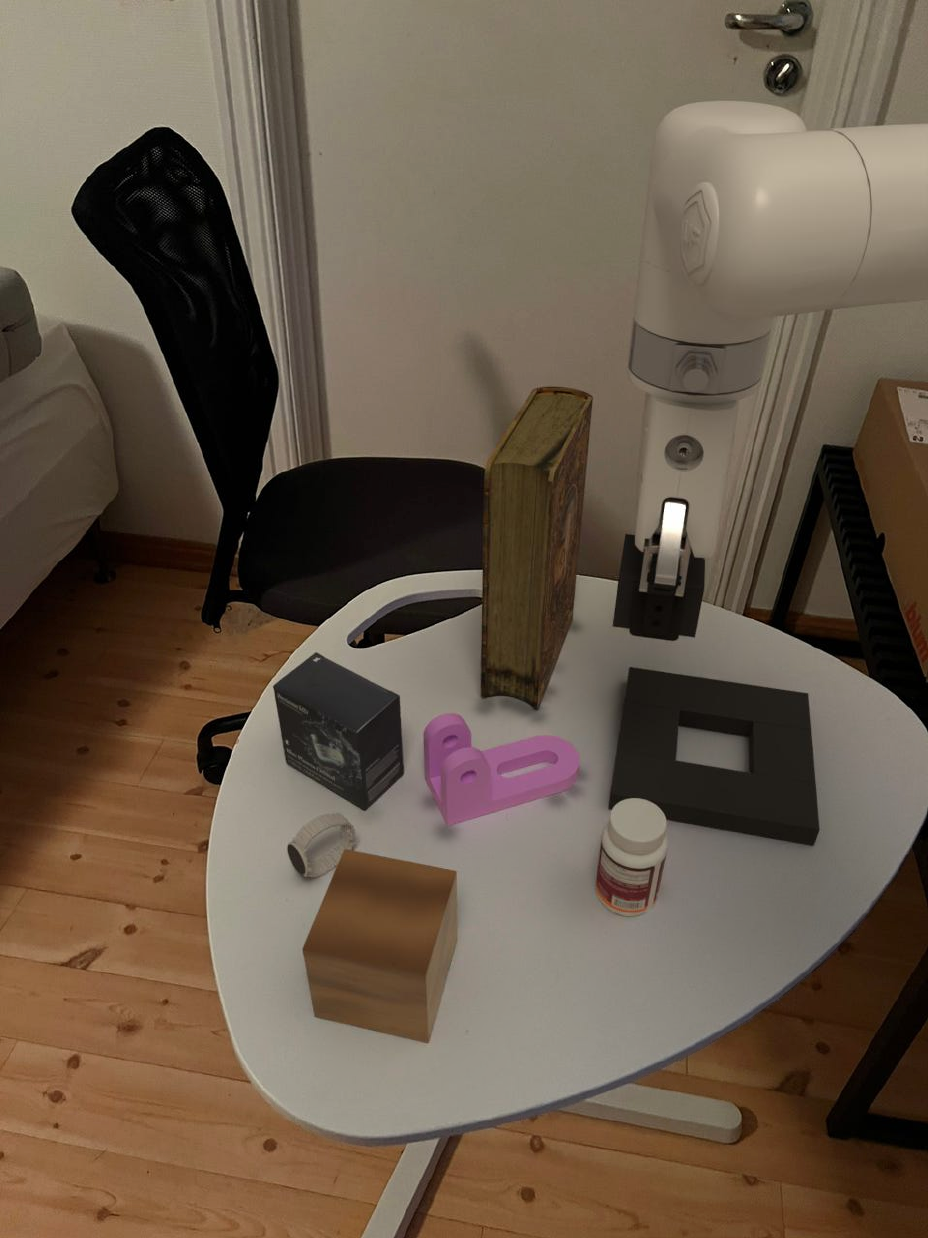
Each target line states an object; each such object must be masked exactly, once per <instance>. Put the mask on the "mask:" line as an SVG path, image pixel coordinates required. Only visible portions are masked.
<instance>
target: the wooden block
mask: <svg viewBox="0 0 928 1238" xmlns="http://www.w3.org/2000/svg"><path fill="white" fill-rule="evenodd" d="M457 873H458V871H457V870H453V869H449V868H444V867H438V866H434V865H429V864H423V863H418V862H414V861H407V860H404V859H397V858H393V857H387V856H383V855H382V856H381V855H378V854H373V853H367V852H362V851H356V850H353V849H352V850H347V849H344V851H343V853H342V856H341V858H340V861H339V863H338V865H337V866H336V867H335V870H334V873H333V875H332V877H331V880H330V882H329V884H328V887H327V890H326V891H325V894H324V896H323V899H322V901H321V904H320V906H319V909H318V911H317V913H316V915H315V918H314V920H313V922H312V925H311V927H310V930H309V932H308V935H307V937H306V939H305V941H304V944H303V946H302V955H303V960H304V965H305V966H304V967H305V970H306V971H305V972H306V977H307V983H308V987H309V993H310V999H311V1004H312V1010H313V1015H314V1018H317V1019H321V1020H326V1021H331V1022H334V1023H338V1024H339V1023H340V1024H342V1025H343V1024H344V1025H347V1026H352V1027H357V1028H361V1029H366V1030H368V1031H369V1030H370V1031H374V1032H379V1033H383V1034H387V1035H391V1036H395V1037H399V1038H404V1039H407V1040H408V1039H409V1040H412V1041H416V1042H421V1043H425V1044H429V1043H430V1041H431V1037H432V1033H433V1031H434V1026H435V1022H436V1019H437V1016H438V1015H437V1014H438V1012H439V1007H440V1005H441V1001H442V998H443V997H442V996H443V993H444V990H445V985H446V982H447V979H448V975H449V972H450V968H451V964H452V960H453V957H454V953H455V949H456V945H457V943H458V876H457V875H458V874H457Z"/></svg>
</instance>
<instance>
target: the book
mask: <svg viewBox="0 0 928 1238" xmlns="http://www.w3.org/2000/svg"><path fill="white" fill-rule="evenodd" d="M593 400H594V397H593V395H591V394H590V393H589V392H587V391H583V390H582V389H581V390H580V389H576V388H572V387H565V386H541V387H540V386H539V387H536V388H533V389H532V390H531V392H530V393H529V395H528V397H527V398H526V400H525V401H524V403H523V404H522V406H521V407H520V409H519V411H518V412H517V413H516V415H515V417H514V419H513V420H512V422H511V423H510V424H509V427H508V428H507V430H505V432H504V434H503V436H502V438H500V440H499V442H498V443H497V445H496V447H495V448H494V450H493V452H492V453H491V454H490V456H489V458H488V460H487V461H486V464H485V469H484V478H483V479H484V481H483V483H484V484H483V520H482V521H483V522H482V523H483V525H482V526H483V527H482V529H483V531H482V579H481V580H482V581H481V582H482V584H481V585H482V586H481V587H482V588H481V589H482V590H481V591H482V593H481V640H480V643H481V645H480V648H481V649H480V697H482V698H488V697H491V696H510V697H514V698H517V699H520V700H522V701H523V702H526V703H527V704H529V705H531V706H533V709H537V710H539V709H540V706H541V704H542V702H543V699H544V696H545V694H546V692H547V689H548V686H549V683H550V682H551V678H552V676H553V673H554V670H555V669H556V665H557V663H558V659H559V657H560V654H561V652H562V649H563V648H564V647H563V646H564V644H565V641H566V638H567V636H568V633H569V631H570V628H571V625H572V622H573V620H574V609H575V597H576V587H577V576H578V565H579V554H580V543H581V534H582V533H581V531H582V523H583V509H584V501H585V499H584V498H585V490H586V489H585V488H586V476H587V465H588V455H589V446H590V445H589V444H590V435H591V433H590V432H591V425H592V424H591V423H592V422H591V421H592V411H593Z"/></svg>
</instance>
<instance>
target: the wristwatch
mask: <svg viewBox="0 0 928 1238" xmlns="http://www.w3.org/2000/svg"><path fill="white" fill-rule="evenodd" d="M334 827H335V828H336V827H339V829H340V831H341V833H342V835H341V837H340V839H339V840H338V842H337V843H336V844H335V845H334V847H332V849H331V850H329V852H327V853H326V854H325V855H323V857H321V858H319V860H317V861H314V862H312V863H309V860H308V857H307V852H308V849H307V848H308V847H309V845H310V844H311V842H312V840H314V839H315V838H316V837H318V836H319V835H320V834H322V833H323V832H325V831H326V830H329V829H331V828H334ZM355 838H356V832H355V828H354V825H353V824H352V823H351V822H350V821H349V820H348V818H346V816H345V815H344V814H342V812H331V813H324V814H321V815H319V816H316V817H315V818H313V819H311V820H309V821H308V822H307V823H305V824H303V826H302V827H301V828H300V829H299V830H298V831H297V833H296V835H295V837H292V839H291V841H290V842H288V844H287V846H286V847H287V849H286V850H287V851H286V852H287V855H288V858H289V861H290V863H291V864H292V866H293V868H294V869H295V870H296V872H297V874H299V875H301V876H303V877H305V878H317V877H318V878H319V877H322V876H325V875H326V874H328V873H330V872H331V871H332V870H334V869H336V867H337V865H338V863H339V861H340V858H341V856H342V853H343V851H344V849H347V850H352V851H353V847H354V845H355Z"/></svg>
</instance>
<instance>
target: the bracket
mask: <svg viewBox="0 0 928 1238" xmlns="http://www.w3.org/2000/svg"><path fill="white" fill-rule="evenodd" d="M422 735H423V739H422V740H423V765H424V779H425V782H426V784H427V786H428V789H429V790H430V793H431V794H432V797H433V799H434V801H435V803H436V805H437V807H438V809H439V812H440V814H441V816H442V818H443V820H444V822H445V825H446V826H447V827H449V826H452V825H456V824H459V823H463V822H466V821H469V820H472V819H476V818H479V817H482V816H486V815H489V814H492V813H496V812H498V811H502V810H505V809H509V808H512V807H516V806H519V805H522V804H526V803H529V802H532V801H535V800H538V799H539V800H540V799H542V798H545V797H548V796H552V795H555V794H559V793H562V792H565V791H566V790H568V789H570V788H571V787H572V786H573V785H574V784H575V783H576V782H577V780H578V778H579V775H580V773H579V771H580V765H581V758H580V753H579V751H578V749H577V748H576V747H575V746H574V745H573V744H572V743H571V742H569V741H568V740H566V739H564V738H562V737H560V736H556V735H550V734H541V735H535V736H531V737H527V738H524V739H520V740H517V741H513V742H509V743H506V744H502V745H498V746H496V747H491V748H487V749H485V750H480V749H479V748H476V747H472V732H471V730H470V728H469V726H468V725H467V722H466V721H465V719H464V717H463V716H462V715H461V714H458V713H453V712H448V713H442V714H440V715H438V716H436V717H435V718H433V719H431V720H430V722H429V723H428V724H427V725H426V726H425V728H424V730H423V733H422ZM544 762H545V763H546V762H548V763H551V764H552V765H549V766H546V767H545V766H544V767H541V768H539V769H535V770H533V771H532V770H531V771H528V772H525V773H521V774H518V775H514V776H511V777H505V776H502V775H503V774H506V773H509V772H512V771H516V770H519V769H523V768H526V767H529V766H534V765H537V764H540V763H544Z"/></svg>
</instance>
